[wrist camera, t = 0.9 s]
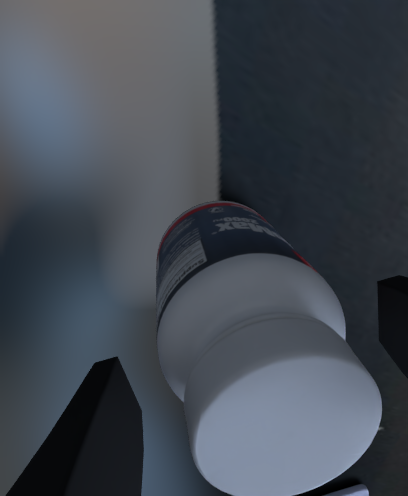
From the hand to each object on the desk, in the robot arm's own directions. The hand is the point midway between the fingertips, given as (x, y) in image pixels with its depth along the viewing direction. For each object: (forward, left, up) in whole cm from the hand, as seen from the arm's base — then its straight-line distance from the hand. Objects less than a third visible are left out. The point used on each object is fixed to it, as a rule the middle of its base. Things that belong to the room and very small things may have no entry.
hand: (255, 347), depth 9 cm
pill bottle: (0, 0, -6) cm, 6 cm away
